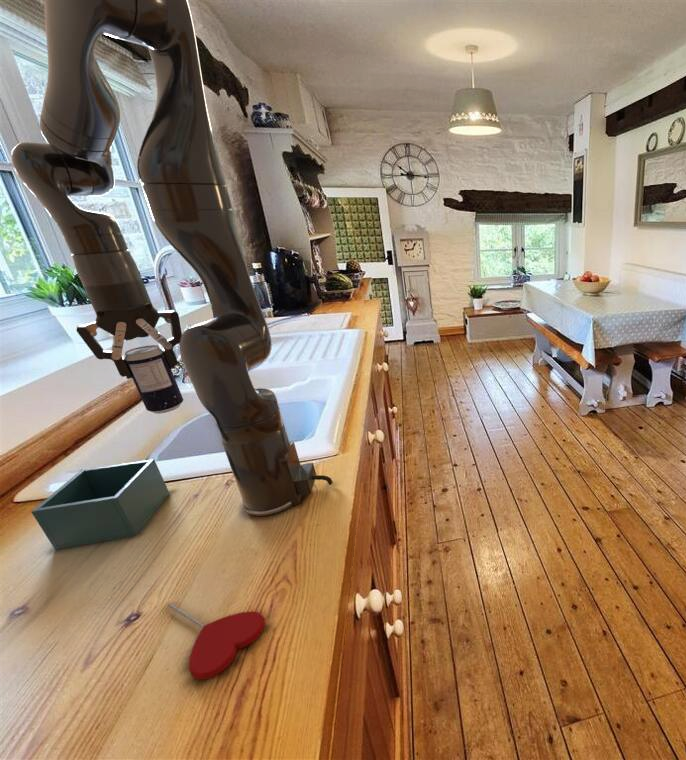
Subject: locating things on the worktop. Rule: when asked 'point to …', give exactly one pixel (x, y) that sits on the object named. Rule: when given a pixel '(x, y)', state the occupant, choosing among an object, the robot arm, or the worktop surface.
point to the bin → (102, 504)
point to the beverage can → (153, 379)
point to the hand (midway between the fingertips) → (151, 372)
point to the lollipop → (221, 641)
